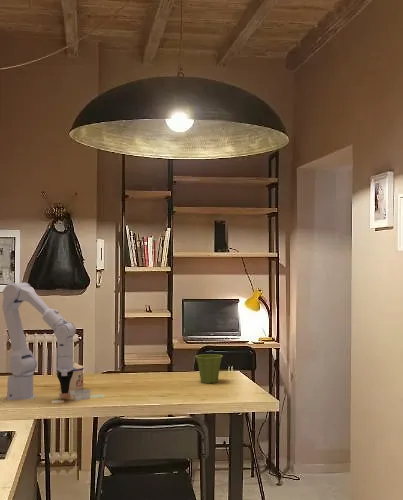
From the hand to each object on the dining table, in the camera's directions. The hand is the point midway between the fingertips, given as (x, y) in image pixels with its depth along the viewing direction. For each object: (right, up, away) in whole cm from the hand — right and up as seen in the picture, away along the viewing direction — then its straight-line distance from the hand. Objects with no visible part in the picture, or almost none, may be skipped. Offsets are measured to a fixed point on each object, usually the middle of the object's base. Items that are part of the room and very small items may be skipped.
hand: (65, 392), depth 240 cm
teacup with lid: (-2, -4, +24) cm, 24 cm away
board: (+4, -3, +3) cm, 6 cm away
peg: (0, -2, 0) cm, 2 cm away
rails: (+3, -3, +4) cm, 5 cm away
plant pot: (+54, -4, +37) cm, 65 cm away
